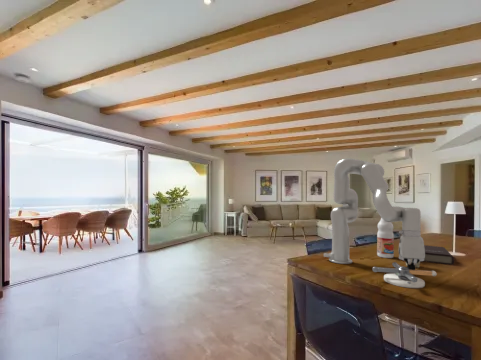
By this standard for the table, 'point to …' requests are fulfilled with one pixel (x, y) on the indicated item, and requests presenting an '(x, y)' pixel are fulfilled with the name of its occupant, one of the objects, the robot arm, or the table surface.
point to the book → (438, 255)
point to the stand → (403, 281)
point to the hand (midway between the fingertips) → (411, 272)
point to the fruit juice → (385, 239)
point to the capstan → (404, 272)
